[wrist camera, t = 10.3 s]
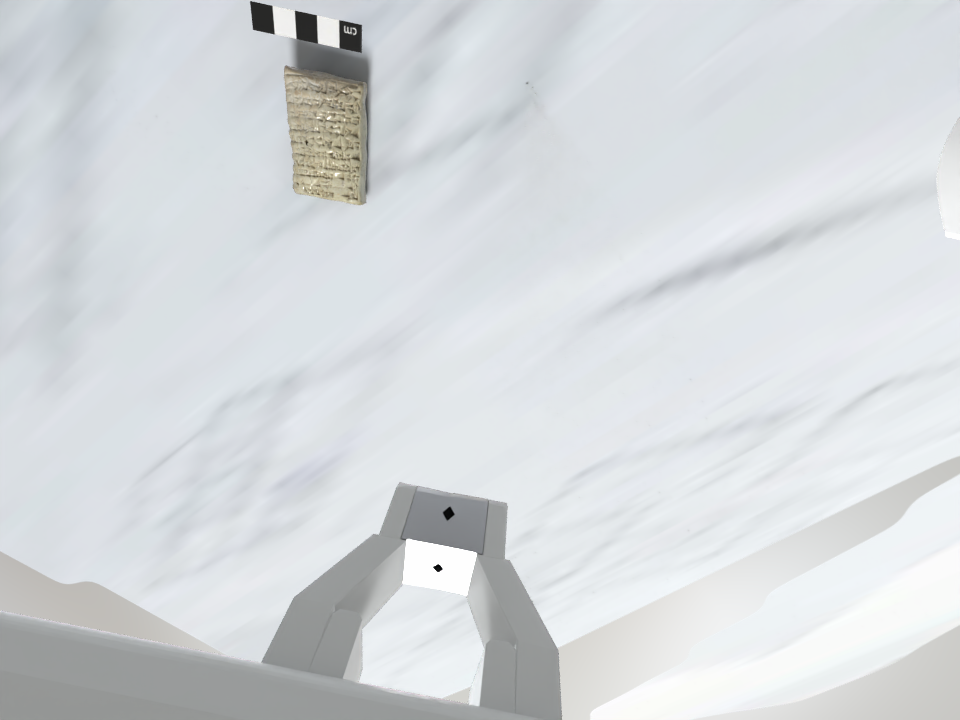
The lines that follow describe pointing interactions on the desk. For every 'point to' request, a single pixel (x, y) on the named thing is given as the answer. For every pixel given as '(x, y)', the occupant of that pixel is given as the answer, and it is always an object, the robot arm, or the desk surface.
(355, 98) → the cuneiform tablet
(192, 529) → the desk surface
